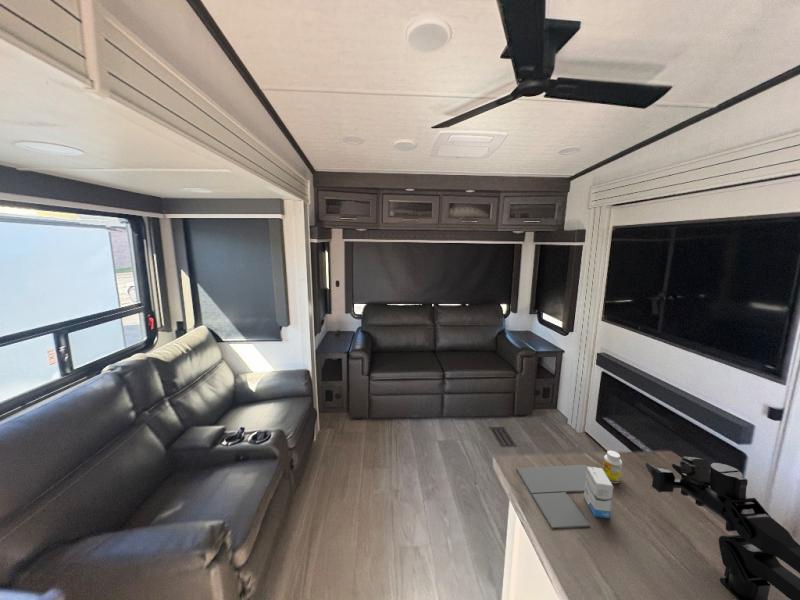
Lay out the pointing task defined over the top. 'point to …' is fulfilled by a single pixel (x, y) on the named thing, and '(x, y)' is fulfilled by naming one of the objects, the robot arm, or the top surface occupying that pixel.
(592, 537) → the top surface
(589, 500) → the ink box
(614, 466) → the supplement bottle
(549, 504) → the rubber mat
